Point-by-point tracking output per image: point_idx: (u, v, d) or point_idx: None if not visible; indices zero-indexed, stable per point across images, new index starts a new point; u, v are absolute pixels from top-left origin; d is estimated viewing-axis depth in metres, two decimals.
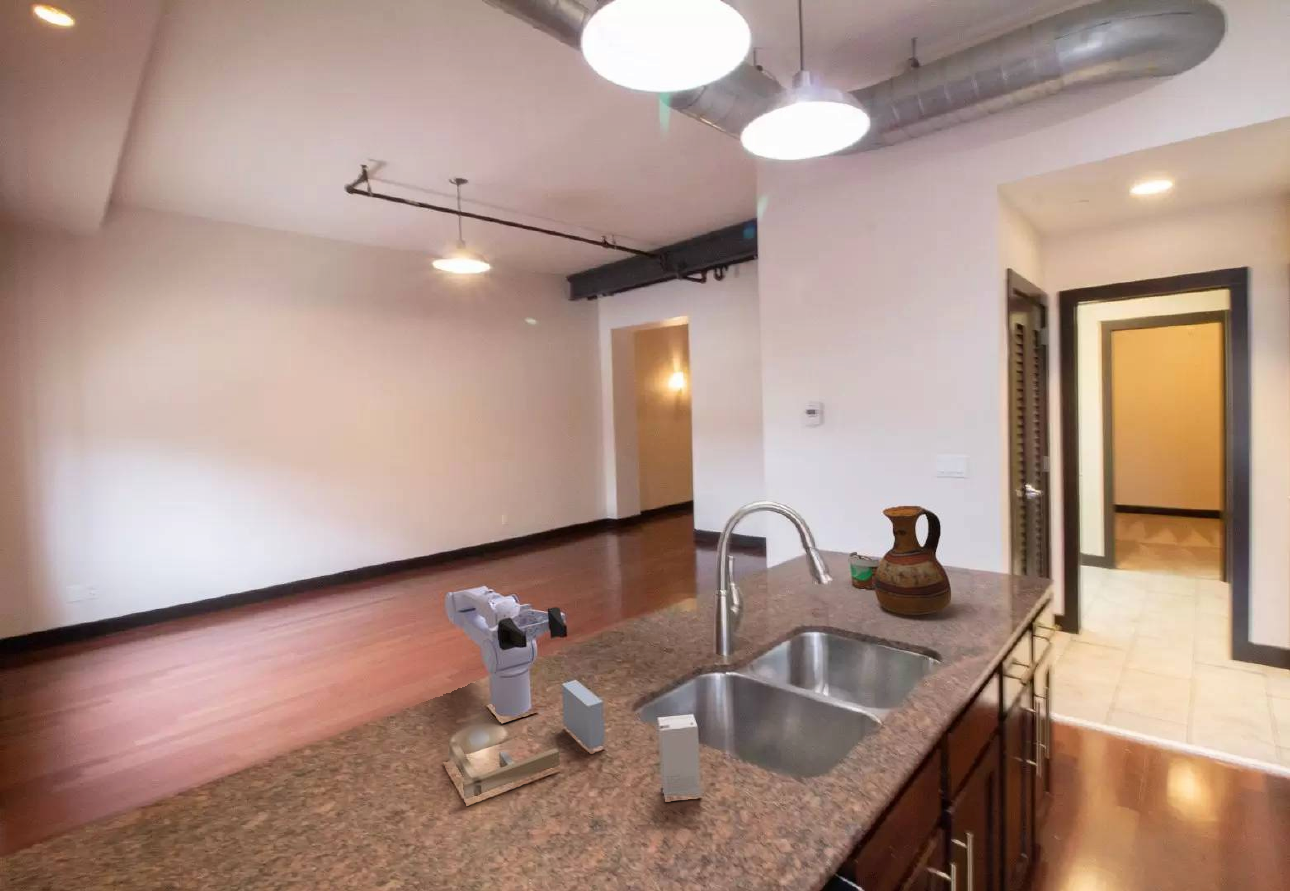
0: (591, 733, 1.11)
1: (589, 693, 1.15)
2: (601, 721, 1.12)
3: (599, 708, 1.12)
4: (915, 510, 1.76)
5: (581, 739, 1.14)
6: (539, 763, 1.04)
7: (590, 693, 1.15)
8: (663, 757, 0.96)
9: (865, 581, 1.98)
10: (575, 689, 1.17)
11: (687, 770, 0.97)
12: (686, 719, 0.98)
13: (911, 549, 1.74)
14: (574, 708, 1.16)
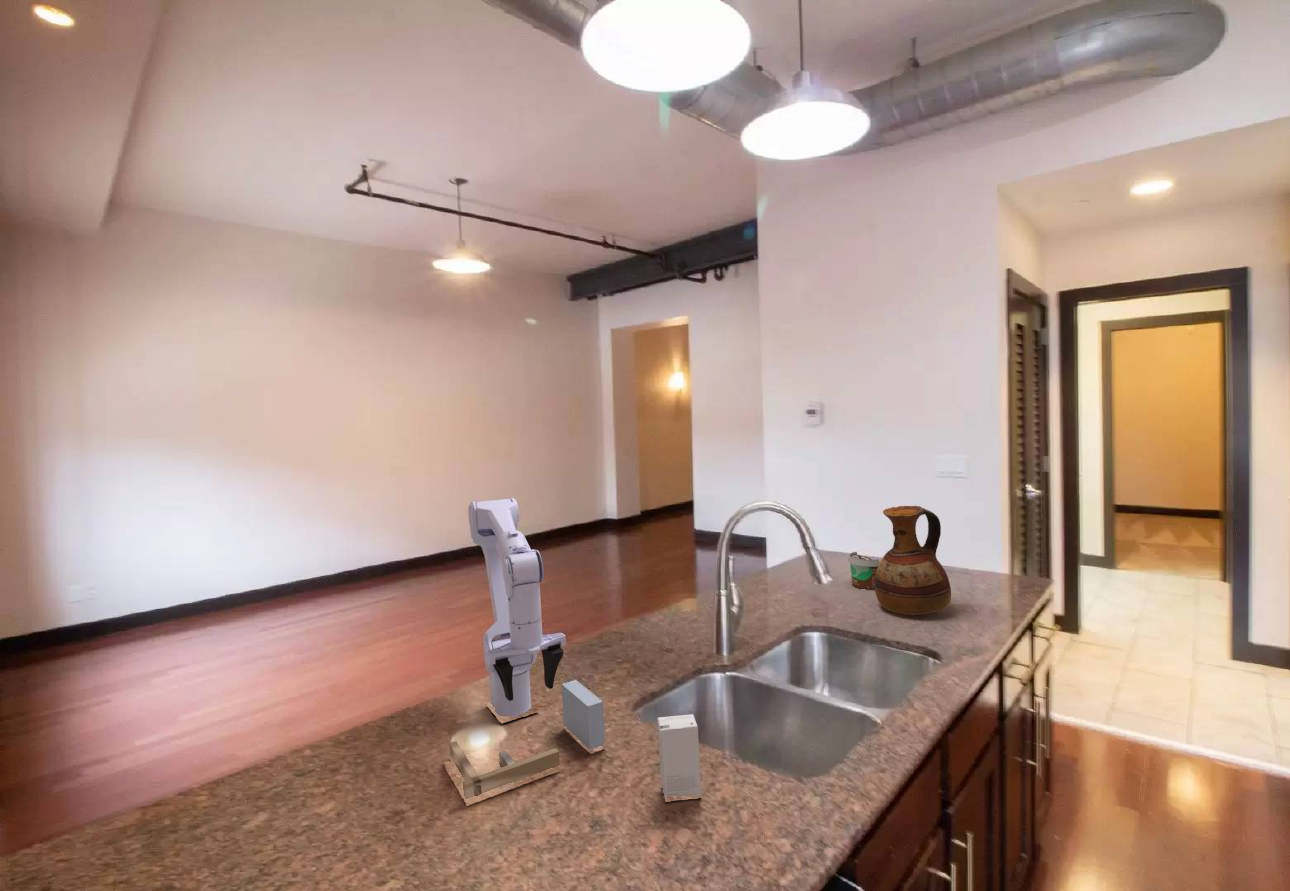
0: (591, 733, 1.11)
1: (589, 693, 1.15)
2: (601, 721, 1.12)
3: (599, 708, 1.12)
4: (915, 510, 1.76)
5: (581, 739, 1.14)
6: (539, 763, 1.04)
7: (590, 693, 1.15)
8: (663, 757, 0.96)
9: (865, 581, 1.98)
10: (575, 689, 1.17)
11: (687, 770, 0.97)
12: (686, 719, 0.98)
13: (911, 549, 1.74)
14: (574, 708, 1.16)
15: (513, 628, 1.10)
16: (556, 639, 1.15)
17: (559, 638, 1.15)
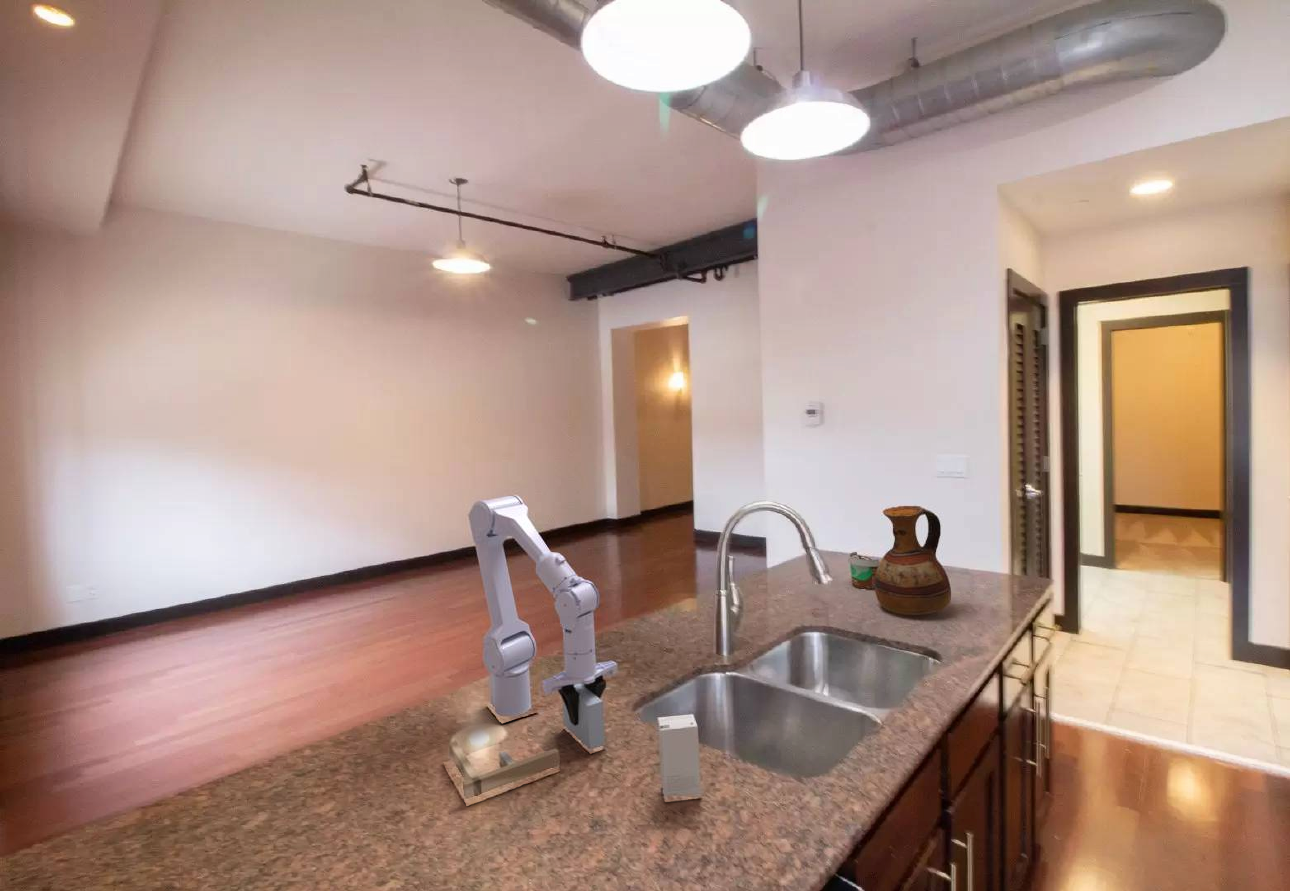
0: (591, 732, 1.11)
1: (589, 693, 1.15)
2: (601, 721, 1.12)
3: (599, 708, 1.12)
4: (915, 510, 1.76)
5: (581, 739, 1.14)
6: (539, 763, 1.04)
7: (590, 692, 1.15)
8: (663, 757, 0.96)
9: (865, 581, 1.98)
10: None
11: (687, 770, 0.97)
12: (686, 719, 0.98)
13: (911, 549, 1.74)
14: None
15: (568, 658, 1.13)
16: (608, 668, 1.17)
17: (611, 667, 1.18)
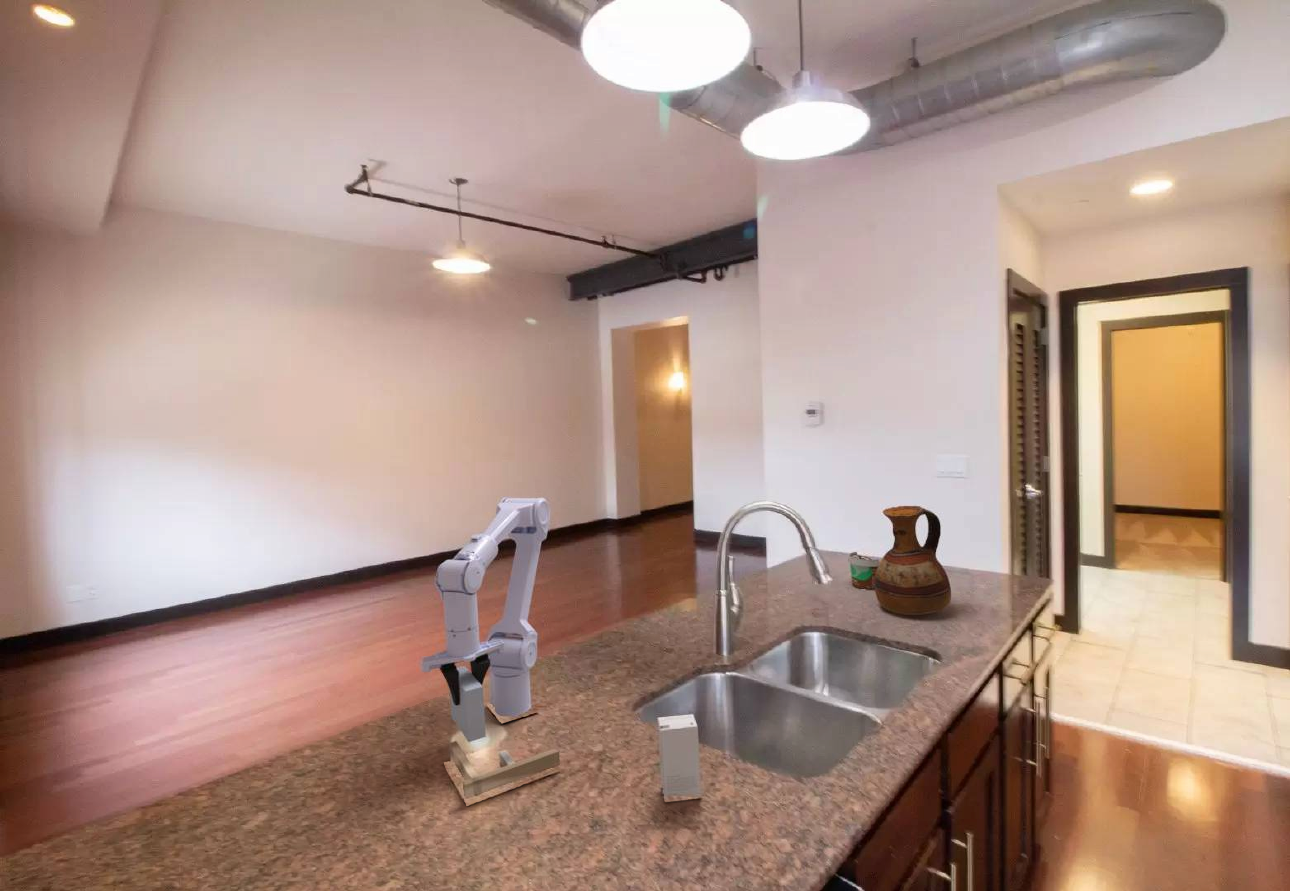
0: (469, 719, 1.07)
1: (472, 678, 1.12)
2: (481, 707, 1.08)
3: (479, 693, 1.08)
4: (915, 510, 1.76)
5: (462, 726, 1.10)
6: (539, 763, 1.04)
7: (473, 678, 1.12)
8: (663, 757, 0.96)
9: (865, 581, 1.98)
10: (460, 674, 1.14)
11: (687, 770, 0.97)
12: (686, 719, 0.98)
13: (911, 549, 1.74)
14: None
15: (448, 636, 1.09)
16: (494, 646, 1.14)
17: (497, 645, 1.14)
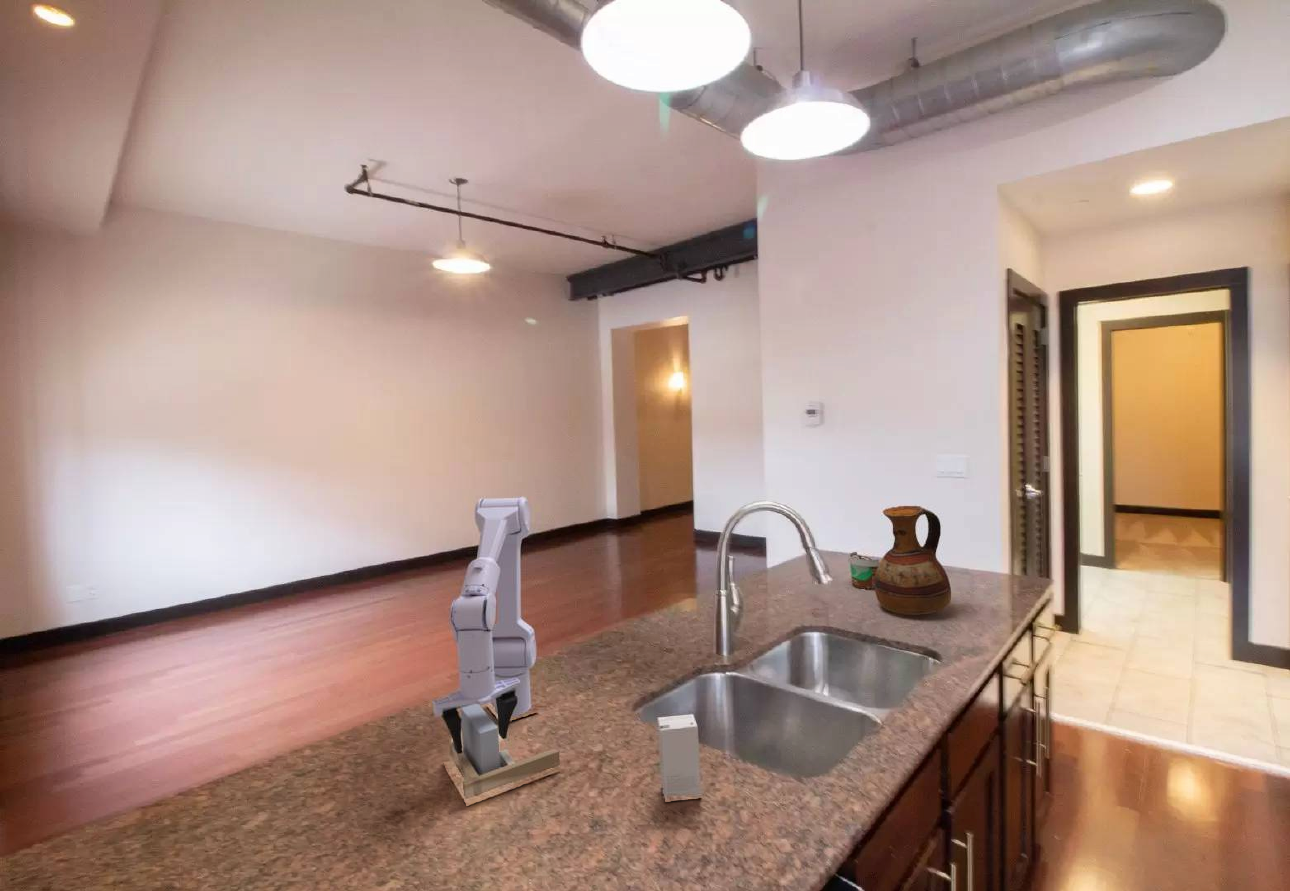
0: (483, 762, 1.02)
1: (486, 718, 1.06)
2: (496, 749, 1.03)
3: (493, 735, 1.03)
4: (915, 510, 1.76)
5: (476, 768, 1.05)
6: (539, 763, 1.04)
7: (487, 718, 1.06)
8: (663, 757, 0.96)
9: (865, 581, 1.98)
10: (473, 713, 1.08)
11: (687, 770, 0.97)
12: (686, 719, 0.98)
13: (911, 549, 1.74)
14: (470, 734, 1.06)
15: (462, 676, 1.03)
16: (510, 686, 1.08)
17: (513, 685, 1.08)
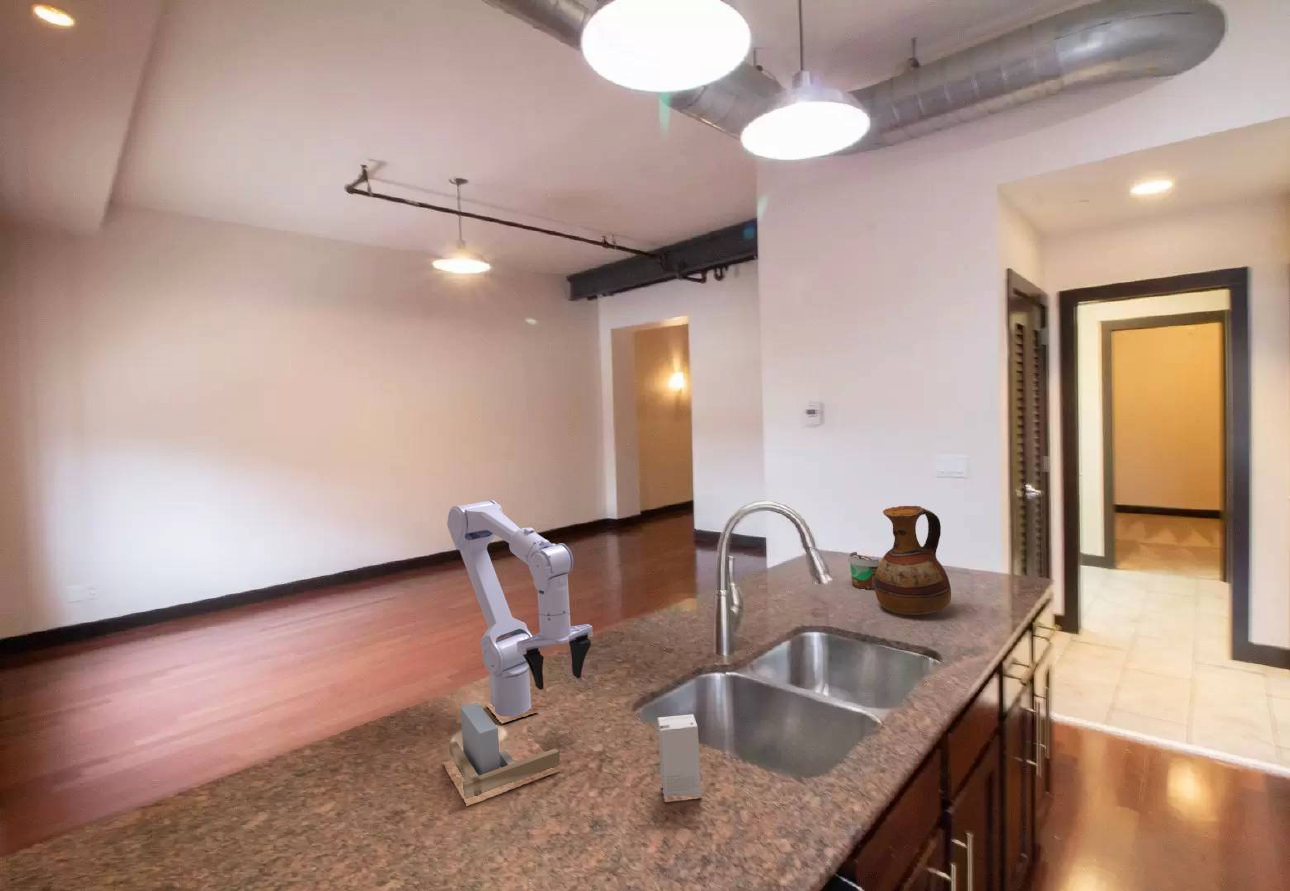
0: (483, 762, 1.02)
1: (486, 718, 1.06)
2: (496, 749, 1.03)
3: (493, 735, 1.03)
4: (915, 510, 1.76)
5: (476, 768, 1.05)
6: (539, 763, 1.04)
7: (487, 718, 1.06)
8: (663, 757, 0.96)
9: (865, 581, 1.98)
10: (473, 713, 1.08)
11: (687, 770, 0.97)
12: (686, 719, 0.98)
13: (911, 549, 1.74)
14: (470, 734, 1.06)
15: (543, 619, 1.14)
16: (583, 630, 1.18)
17: (586, 629, 1.19)
